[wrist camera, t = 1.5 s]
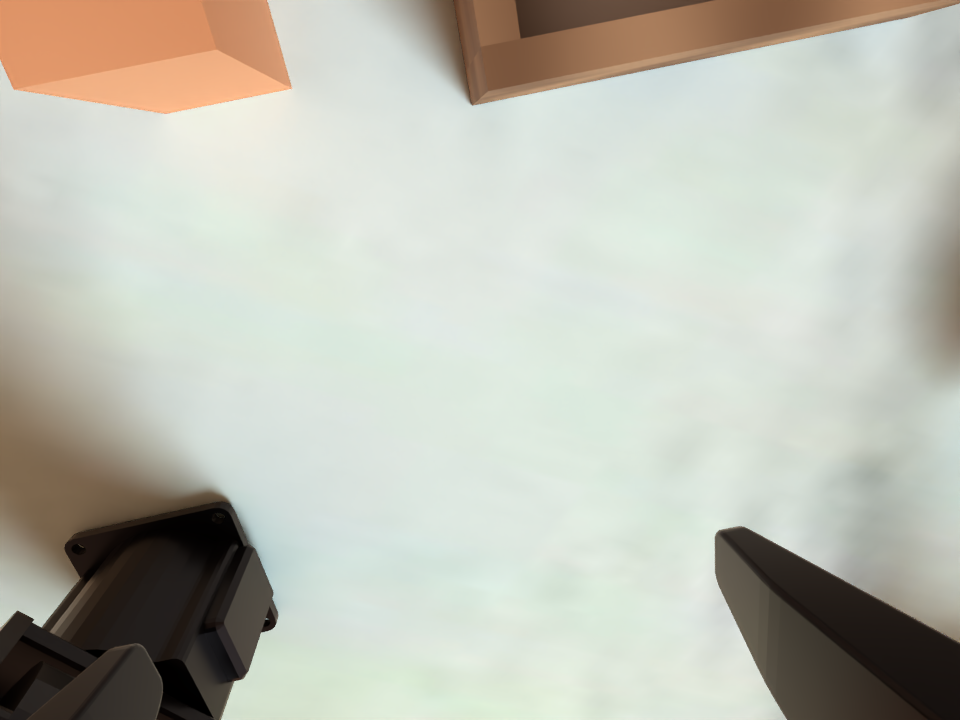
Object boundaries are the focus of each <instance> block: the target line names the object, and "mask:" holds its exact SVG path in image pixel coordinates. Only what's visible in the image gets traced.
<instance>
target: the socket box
mask: <svg viewBox="0 0 960 720" xmlns="http://www.w3.org/2000/svg"><path fill="white" fill-rule="evenodd" d="M453 2H454V7H455V13H456V19H457V24H458V30H459V35H460V41H461V47H462V52H463V58H464V64H465V69H466V75H467V81H468V86H469V92H470V97H471V103H472V105H477V104H482V103H487V102H492V101H497V100H502V99H507V98H512V97H517V96H522V95H527V94H532V93H537V92H541V91H546V90H551V89H556V88H561V87H566V86H571V85H576V84H581V83H586V82H591V81H596V80H601V79H606V78H611V77H616V76H621V75H626V74H631V73H636V72H641V71H646V70H651V69H655V68H660V67H665V66H670V65H675V64H680V63H685V62H690V61H695V60H700V59H705V58H710V57H715V56H720V55H725V54H730V53H735V52H740V51H745V50H750V49H755V48H760V47H765V46H769V45H774V44H779V43H784V42H789V41H794V40H799V39H804V38H809V37H814V36H819V35H824V34H829V33H834V32H839V31H844V30H849V29H854V28H859V27H864V26H869V25H874V24H879V23H883V22H888V21H893V20H898V19H903V18H908V17H912V16H916V15H919V14H923V13H927V12H930V11H934V10H937V9H941V8H945V7H948V6H952V5H955V4H959V3H960V0H453Z"/></svg>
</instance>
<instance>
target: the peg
mask: <svg viewBox="0 0 960 720" xmlns="http://www.w3.org/2000/svg"><path fill="white" fill-rule="evenodd" d="M0 60H1V62H2V65H3V67H4V69H5V71H6V73H7V76H8V78H9V80H10V82H11V85H12V87H13V89H14V90H20V91H27V92H33V93H39V94H45V95H52V96H58V97H64V98H70V99H77V100H83V101H89V102H95V103H102V104H108V105H114V106H120V107H127V108H133V109H139V110H145V111H152V112H158V113H164V114H167V113H172V112H177V111H182V110H187V109H192V108H197V107H202V106H208V105H213V104H218V103H223V102H228V101H233V100H238V99H243V98H248V97H253V96H258V95H263V94H268V93H273V92H278V91H283V90H288V89H292V87H291V83H290V80H289V76H288V72H287V69H286V65H285V62H284V58H283V55H282V51H281V48H280V44H279V41H278V37H277V34H276V30H275V27H274V23H273V20H272V16H271V12H270V9H269V5H268V2H267V0H0Z"/></svg>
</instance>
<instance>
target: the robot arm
mask: <svg viewBox="0 0 960 720" xmlns="http://www.w3.org/2000/svg"><path fill="white" fill-rule="evenodd" d="M215 513H221V514H223V515H224V516H225V517H224V518H220V517H218V516H217V515H216V514H215ZM78 544H80V545H83V546H84V547H85V548H82V547H80V546H79V545H78ZM65 551H66V554H67V555H68V557H69V559H70V560H71V562H72V564H73V566H74V567H75V569H76V571H77V573H78V574H79V576H80V580H79V581H78V582H77V584H76V585H75V586H74V587H73V589H72V590H71V591H70V592H69V594H68V595H67V596H66V597H65V599H64V600H63V601H62V602H61V604H60V605H59V606H58V607H57V609H56V610H55V611H54V613H53V614H52V615H51V616H50V618H49V619H48V620H47V621H46V623H45V624H44V625H43V626H42V628H41V627H39V626H37V625H36V624H34V623H32V622H33V620H34V619H33V618H31V617H29V616H27V615H25V614H23V613H21V612H19V611H16V612H15V613H14V614H13V616H12V617H11V618H10V619H9V620H8V621H7V622H6V623H5V624H4V625H3V626H2V627H1V628H0V720H221V718H222V715H223V712H224V709H225V706H226V703H227V700H228V698H229V695H230V692H231V689H232V686H233V683H234V681H237V680H241V679H243V678H244V677H245V675H246V674H247V672H248V671H249V668H250V665H251V661H252V658H253V655H254V652H255V649H256V646H257V643H258V640H259V637H260V634H261V632H265V631H269V630H271V629H273V628H274V627H275V625H276V622H277V619H278V612H277V609H276V607H275V605H274V602H273V600H272V597H273V590H272V588H271V585H270V583H269V580H268V578H267V576H266V573H265V571H264V569H263V566H262V564H261V561H260V559H259V557H258V554H257V552H256V550H255V548H253V547H252V546H251V545H249V543H248V541H247V539H246V536H245V534H244V532H243V529H242V527H241V524H240V522H239V520H238V517H237V515H236V513H235V510H234V509H233V507H232V506H231V505H230V504H228V503H225V502H215V503H211V504H206V505H202V506H197V507H192V508H188V509H183V510H179V511H174V512H170V513H165V514H161V515H156V516H152V517H147V518H143V519H138V520H134V521H129V522H125V523H120V524H116V525H111V526H107V527H102V528H97V529H93V530H88V531H84V532H79V533H77V534H74V535H73V536H72V538H71V539H70V540H69V541H68V542H67V543H66V544H65ZM715 574H716V578H717V582H718V585H719V587H720V589H721V592H722V594H723V596H724V598H725V600H726V602H727V604H728V606H729V608H730V610H731V613H732V615H733V617H734V619H735V621H736V623H737V625H738V627H739V629H740V631H741V634H742V636H743V638H744V640H745V642H746V644H747V646H748V648H749V650H750V652H751V655H752V657H753V659H754V661H755V663H756V665H757V667H758V669H759V671H760V673H761V675H762V677H763V679H764V681H765V683H766V685H767V687H768V688H769V690H770V692H771V694H772V695H773V697H774V699H775V701H776V702H777V704H778V706H779V707H780V709H781V711H782V712H783V714H784V716H785V717H786V719H787V720H960V643H959V642H957V641H955V640H953V639H951V638H950V637H948V636H946V635H944V634H942V633H940V632H939V631H937V630H935V629H933V628H931V627H929V626H927V625H926V624H924V623H922V622H920V621H918V620H916V619H914V618H913V617H911V616H909V615H907V614H905V613H903V612H901V611H900V610H898V609H896V608H894V607H892V606H890V605H889V604H887V603H885V602H883V601H881V600H879V599H877V598H876V597H874V596H872V595H870V594H868V593H866V592H864V591H863V590H861V589H859V588H857V587H855V586H853V585H852V584H850V583H848V582H846V581H844V580H842V579H840V578H839V577H837V576H835V575H833V574H831V573H829V572H827V571H826V570H824V569H822V568H820V567H818V566H816V565H814V564H813V563H811V562H809V561H807V560H805V559H803V558H802V557H800V556H798V555H796V554H794V553H792V552H790V551H789V550H787V549H785V548H783V547H781V546H779V545H777V544H776V543H774V542H772V541H770V540H768V539H766V538H765V537H763V536H761V535H759V534H757V533H755V532H753V531H752V530H750V529H748V528H745V527H742V526H738V527H733V528H728V529H722V530H719V531H718V532H717V533H716V535H715ZM266 618H267V619H268V620H265V619H266Z"/></svg>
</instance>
